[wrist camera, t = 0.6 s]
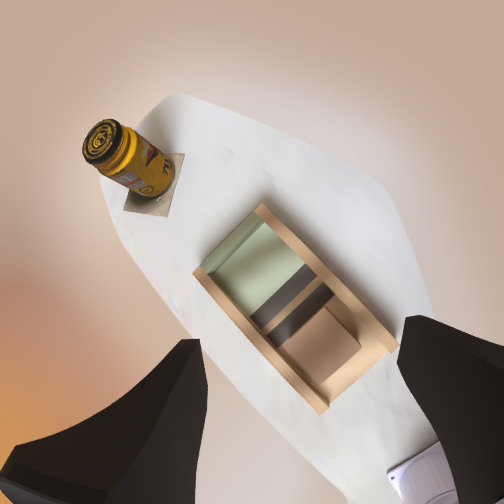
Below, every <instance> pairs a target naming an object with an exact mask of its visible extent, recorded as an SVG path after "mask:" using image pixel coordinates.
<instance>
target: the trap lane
mask: <svg viewBox="0 0 504 504" xmlns="http://www.w3.org/2000/svg"><path fill="white" fill-rule="evenodd" d="M192 274H193V275H194V276H195V278H196V279H197V280H198V281H199V282H200V284H201V285H202V286H203V287H204V288H205V290H206V291H207V292H208V293H209V294H210V296H211V297H212V298H213V299H214V300H215V301H216V303H217V304H218V305H219V306H220V307H221V308H222V310H223V311H224V312H225V313H226V314H227V315H228V317H229V318H230V319H231V320H232V321H233V322H234V323H235V325H236V326H237V327H238V328H239V329H240V330H241V331H242V332H243V334H244V335H245V336H246V337H247V338H248V339H249V340H250V341H251V343H252V344H253V345H254V346H255V347H256V348H257V349H258V350H259V351H260V353H261V354H262V355H263V356H264V357H265V358H266V359H267V360H268V361H269V362H270V363H271V365H272V366H273V367H274V368H275V369H276V370H277V371H278V372H279V373H280V374H281V375H282V376H283V377H284V379H285V380H286V381H287V382H288V383H289V384H290V385H291V386H292V387H293V388H294V389H295V390H296V391H297V392H298V393H299V394H300V395H301V396H302V397H303V398H304V399H305V401H306V402H307V403H308V404H309V405H310V406H311V407H312V408H313V409H314V410H315V411H316V412H317V413H318V414H319V415H321V414H322V413H324V412H325V411H326V410H327V409H329V405H330V402H332V401H333V400H334V399H335V398H337V397H338V396H339V395H340V394H341V393H343V392H344V391H345V390H346V389H347V388H349V387H350V386H351V385H352V384H353V383H354V382H355V381H357V380H358V379H359V378H360V377H361V376H362V375H363V374H364V373H366V372H367V371H368V370H369V369H370V368H371V367H372V366H373V365H374V364H375V363H376V362H378V361H379V360H380V359H381V358H382V357H383V356H384V355H385V354H386V353H387V352H388V351H389V352H390V353H392V352H393V351H394V350H395V349H396V348H397V347H398V346H399V345H400V344H399V343H398V342H397V341H396V340H395V338H394V337H393V336H392V335H391V334H390V333H389V332H388V331H387V330H386V329H385V328H384V327H383V325H382V324H381V323H380V322H379V321H378V320H377V319H376V318H375V317H374V316H373V315H372V314H371V313H370V312H369V310H368V309H367V308H366V307H365V306H364V305H363V304H362V303H361V302H360V301H359V300H358V299H357V298H356V297H355V296H354V295H353V294H352V293H351V291H350V290H349V289H348V288H347V287H346V286H345V285H344V284H343V283H342V282H341V281H340V280H339V279H338V278H337V277H336V276H335V275H334V274H333V273H332V272H331V271H330V270H329V269H328V268H327V267H326V266H325V265H324V264H323V263H322V262H321V261H320V260H319V259H318V258H317V257H316V256H315V255H314V254H313V252H312V251H311V250H310V249H309V248H308V247H307V246H306V245H305V244H304V243H303V242H302V241H301V240H300V239H299V238H298V237H296V236H295V235H294V234H293V233H292V232H291V231H290V230H289V229H288V228H287V227H286V226H285V225H284V224H283V223H282V222H281V221H280V220H279V219H278V218H277V217H276V216H275V215H274V214H273V213H272V212H271V211H270V210H269V209H268V208H267V207H266V206H265V205H264V204H263V203H261V204H260V205H259V206H258V207H257V208H256V209H255V210H254V211H253V212H252V213H251V214H250V215H249V216H248V217H247V218H246V219H245V220H244V221H243V222H242V223H241V224H240V225H239V226H238V227H237V228H236V229H235V230H234V231H233V232H232V233H231V234H230V235H229V236H228V237H227V238H226V239H225V240H224V241H223V242H222V243H221V244H220V245H219V246H218V247H217V248H216V249H215V250H214V251H213V252H212V253H211V254H210V256H209V257H208V258H207V259H206V260H205V261H204V262H203V263H202V264H201V265H200V266H199V267H198V268H197V269H196V270H195V271H194V272H193V273H192ZM324 306H326V307H327V308H328V309H329V310H330V311H331V312H332V313H333V314H334V315H335V316H336V317H337V319H338V320H339V321H340V322H341V323H342V324H343V325H344V326H345V327H346V328H347V329H348V330H349V331H350V332H351V333H352V334H353V335H354V337H355V338H356V339H357V340H358V341H359V343H360V344H361V346H362V348H361V349H360V350H359V351H358V352H357V353H356V354H355V355H354V356H353V357H352V358H350V359H349V360H348V361H347V362H346V363H345V364H344V365H343V366H342V367H340V368H339V369H338V370H337V371H336V372H335V373H334V374H332V375H331V376H330V377H329V378H328V379H327V380H325V381H324V382H323V383H322V384H321V385H319V384H318V383H317V382H316V381H315V380H314V379H313V378H312V377H311V376H310V374H309V373H308V372H307V371H306V370H305V369H304V368H303V367H302V366H301V365H300V364H299V363H298V362H297V361H296V360H295V359H294V358H293V356H292V355H291V354H290V353H289V352H288V351H287V350H286V349H285V348H284V347H283V345H284V344H285V343H286V342H287V341H288V340H289V339H290V338H291V337H292V336H293V335H295V334H296V333H297V332H298V331H299V330H300V329H301V328H302V327H303V326H304V325H305V324H307V323H308V322H309V321H310V320H311V319H312V318H313V317H314V316H315V315H316V314H317V313H318V312H319V311H320V310H321V309H322V308H323V307H324Z"/></svg>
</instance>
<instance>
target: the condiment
mask: <svg viewBox="0 0 504 504" xmlns="http://www.w3.org/2000/svg"><path fill="white" fill-rule="evenodd" d="M82 153H83V155H84V158H85V160H86V161H87V162H88V163H89V164H92V165H93V166H94V167H95V168H97V169H98V171H99V172H100V173H101V174H102V175H104V176H106V177H108V178H110V179H112V180H114V181H115V182H117V183H119V184H121V185H123V186H125V187H127V188H129V192H128V196H127V199H126V202H125V206H124V209H123V210H124V211H130V212H137V213H143V214H149V215H156V216H162V217H167V215H168V210H169V207H170V203H171V199H172V196H173V192H174V189H175V186H176V183H177V179H178V176H179V172H180V169H181V165H182V162H183V159H184V154H163V153H162V152H161V151H160V150H159V149H157V148H156V147H154V146H153V145H152V144H151V143H149V142H148V141H147V140H146V139H144V138H143V137H142V136H141V135H140V134H138V133H137V132H136V131H134V130H133V129H131V128H130V127H125V126H123V125H120V123H119V122H117V121H116V120H114V119H106V120H103V121H101V122H99V123H97V124H96V125H95V126H94V127H93V128H92V129H91V130H90V132H89V133H88V135H87V137H86V138H85V141H84V143H83V148H82ZM159 197H161V198H160V199H159ZM158 199H159V200H158ZM157 200H158V201H157Z"/></svg>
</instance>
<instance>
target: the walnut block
mask: <svg viewBox="0 0 504 504" xmlns="http://www.w3.org/2000/svg"><path fill="white" fill-rule="evenodd" d="M283 347H284V348H285V349H286V350H287V351H288V352H289V353H290V354H291V355H292V356H293V358H294V359H295V360H296V361H297V362H298V363H299V364H300V365H301V366H302V367H303V368H304V369H305V370H306V371H307V372H308V373H309V374H310V376H311V377H312V378H313V379H314V380H315V381H316V382H317V383H318V384H319V385H321V384H322V383H323V382H324V381H325V380H327V379H328V378H329V377H330V376H331V375H332V374H334V373H335V372H336V371H337V370H338V369H339V368H340V367H342V366H343V365H344V364H345V363H346V362H347V361H348V360H349V359H350V358H352V357H353V356H354V355H355V354H356V353H357V352H358V351H359V350H360V349H361V348H362V346H361V344H360V343H359V341H358V340H357V339H356V338H355V337H354V335H353V334H352V333H351V332H350V331H349V330H348V329H347V328H346V327H345V326H344V325H343V324H342V323H341V322H340V321H339V320H338V319H337V317H336V316H335V315H334V314H333V313H332V312H331V311H330V310H329V309H328V308H327V307H326V306H324V307H323V308H322V309H321V310H320V311H319V312H318V313H317V314H316V315H315V316H314V317H313V318H312V319H311V320H310V321H309V322H308V323H307V324H305V325H304V326H303V327H302V328H301V329H300V330H299V331H298V332H297V333H296V334H295V335H293V336H292V337H291V338H290V339H289V340H288V341H287V342H286V343H285V344H284V345H283Z"/></svg>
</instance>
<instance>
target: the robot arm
mask: <svg viewBox="0 0 504 504" xmlns="http://www.w3.org/2000/svg"><path fill="white" fill-rule="evenodd" d="M397 365H398V367H399V370H400V372H401V375H402V377H403V379H404V381H405V383H406V385H407V387H408V388H409V390H410V392H411V393H412V395H413V396H414V398H415V400H416V401H417V403H418V404H419V406H420V407H421V409H422V411H423V412H424V414H425V415H426V417H427V419H428V420H429V422H430V423H431V425H432V427H433V429H434V430H435V432H436V434H437V436H438V439H439V441H438V442H437V443H435V444H434V445H432V446H431V447H429V448H428V449H426V450H425V451H423V452H422V453H420V454H418V455H417V456H415V457H414V458H412V459H410V460H409V461H407V462H405V463H404V464H402V465H400V466H398V467H397V468H395V469H393V470H391V471H389V472H388V473H387V478H388V479H389V481H390V482H391V484H392V485H393V487H394V488H395V490H396V491H397V493H398V494H399V496H400V497H401V499H402V500H403V504H504V346H501V345H498V344H495V343H492V342H489V341H486V340H483V339H480V338H478V337H475V336H473V335H470V334H467V333H465V332H463V331H460V330H458V329H455V328H453V327H450V326H448V325H446V324H443V323H441V322H438V321H436V320H434V319H431V318H428V317H425V316H422V315H416V316H410V317H406V318H405V324H404V329H403V335H402V340H401V345H400V350H399V355H398V360H397ZM207 395H208V384H207V379H206V373H205V368H204V362H203V357H202V352H201V345H200V339H182V340H181V341H179V342H178V344H177V345H176V346H175V347H174V348H173V349H172V350H171V351H170V352H169V353H168V354H167V355H166V356H165V357H164V359H163V360H162V361H161V362H160V363H159V364H158V365H157V366H156V367H155V368H154V369H153V370H152V371H151V372H150V373H149V374H148V375H147V376H146V377H145V378H144V379H142V380H141V381H140V382H139V383H138V384H137V385H136V386H134V387H133V388H132V389H131V390H130V391H129V392H127V393H126V394H125V395H124V396H123V397H121V398H119V399H118V400H117V401H115V402H114V403H112V404H111V405H110V406H108V407H107V408H105V409H103V410H102V411H100V412H98V413H96V414H95V415H93V416H91V417H90V418H88V419H86V420H84V421H82V422H81V423H79V424H76V425H75V426H72V427H70V428H68V429H66V430H63V431H61V432H58V433H56V434H53V435H51V436H48V437H45V438H42V439H38V440H35V441H31V442H28V443H25V444H20V445H16V446H15V447H14V449H13V451H12V452H11V454H10V456H9V457H8V459H7V461H6V463H5V464H4V466H3V467H2V469H1V471H0V490H1V491H2V493H3V494H4V495H5V496H6V497H7V498H8V499H9V500H10V501H11V502H12V503H13V504H195V487H196V486H195V485H196V469H197V462H198V457H199V451H200V445H201V440H202V434H203V429H204V423H205V418H206V412H207ZM393 476H394V477H393ZM391 477H393V478H391Z"/></svg>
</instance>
